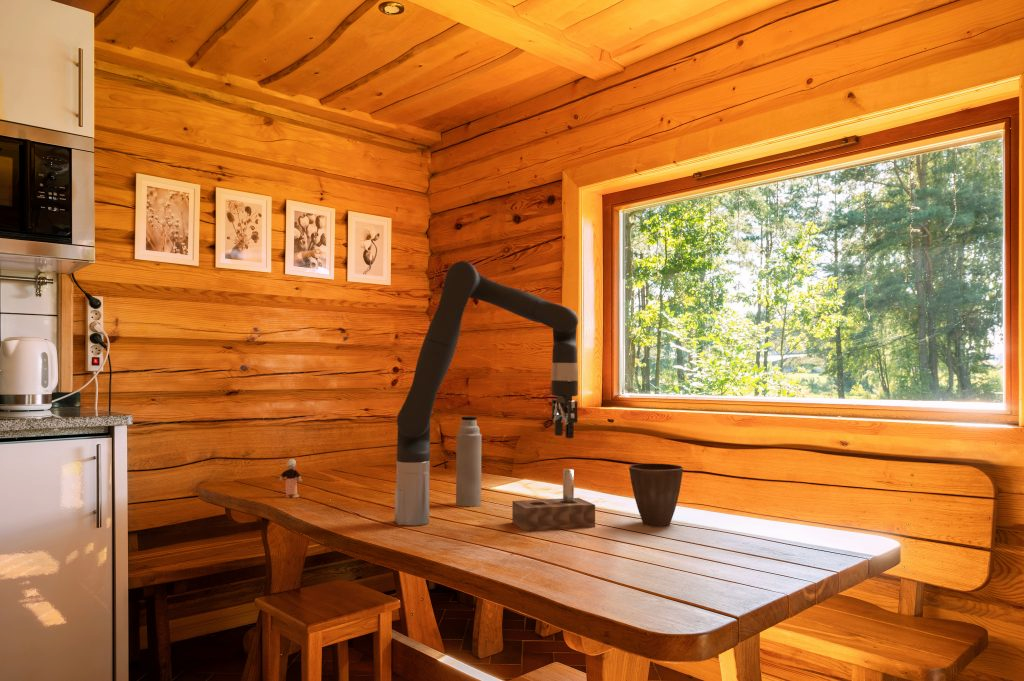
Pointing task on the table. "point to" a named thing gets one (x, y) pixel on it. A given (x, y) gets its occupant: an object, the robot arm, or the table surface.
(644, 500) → the plant pot
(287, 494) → the grandmother figurine
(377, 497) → the table surface
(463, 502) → the thermos bottle
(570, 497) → the metal pin
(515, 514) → the walnut bore block
